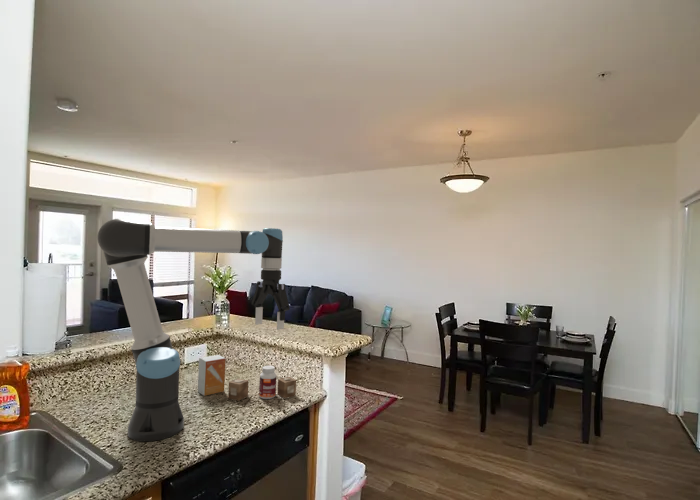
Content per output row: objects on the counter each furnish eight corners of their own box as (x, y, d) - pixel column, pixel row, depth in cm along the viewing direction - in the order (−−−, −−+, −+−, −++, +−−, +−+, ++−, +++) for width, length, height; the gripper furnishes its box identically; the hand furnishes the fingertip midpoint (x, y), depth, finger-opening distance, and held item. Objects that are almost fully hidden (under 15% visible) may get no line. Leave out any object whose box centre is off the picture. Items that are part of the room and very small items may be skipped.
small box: (204, 396, 146) (205, 361, 146) (197, 391, 150) (198, 357, 150) (224, 391, 151) (226, 357, 151) (217, 387, 156) (218, 354, 156)
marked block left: (238, 401, 143) (239, 384, 143) (227, 398, 145) (228, 381, 145) (248, 396, 147) (248, 379, 147) (237, 394, 149) (238, 377, 149)
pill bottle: (262, 400, 143) (263, 370, 143) (256, 395, 149) (257, 366, 149) (278, 397, 147) (279, 368, 147) (272, 392, 152) (273, 364, 152)
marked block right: (284, 398, 146) (285, 382, 146) (277, 394, 150) (278, 378, 150) (296, 396, 149) (296, 379, 149) (288, 392, 153) (289, 376, 153)
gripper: (300, 271, 143) (298, 330, 143) (259, 267, 159) (257, 320, 159) (285, 271, 137) (282, 333, 137) (243, 267, 153) (241, 323, 153)
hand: (269, 326), depth 148 cm, fingers open, 12 cm apart
